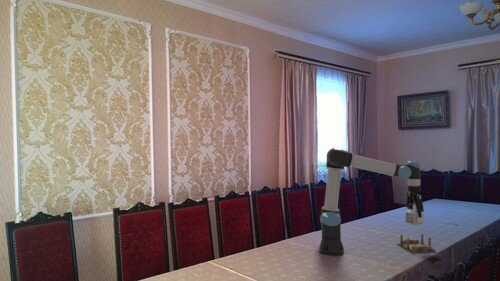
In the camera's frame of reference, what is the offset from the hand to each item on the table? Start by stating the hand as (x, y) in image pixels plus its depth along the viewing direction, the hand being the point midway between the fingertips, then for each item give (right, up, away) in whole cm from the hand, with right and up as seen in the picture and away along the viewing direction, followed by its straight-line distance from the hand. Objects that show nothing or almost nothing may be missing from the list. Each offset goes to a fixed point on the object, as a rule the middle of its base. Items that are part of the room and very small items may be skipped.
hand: (414, 220), depth 220 cm
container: (0, -2, 0) cm, 2 cm away
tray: (0, -17, 0) cm, 17 cm away
